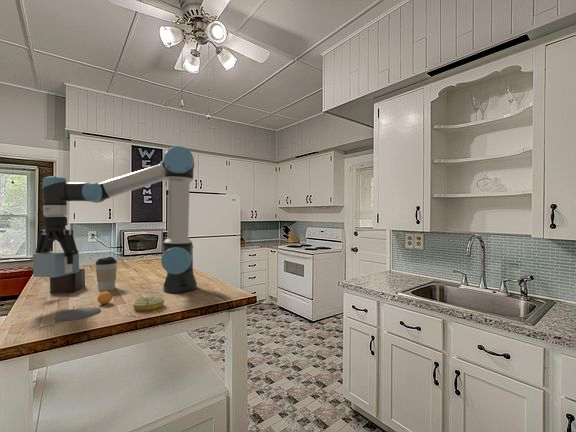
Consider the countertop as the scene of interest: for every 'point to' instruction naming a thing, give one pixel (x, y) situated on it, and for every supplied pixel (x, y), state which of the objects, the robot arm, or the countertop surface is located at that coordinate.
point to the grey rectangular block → (52, 264)
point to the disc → (77, 313)
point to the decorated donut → (148, 304)
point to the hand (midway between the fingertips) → (57, 272)
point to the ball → (104, 297)
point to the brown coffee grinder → (68, 282)
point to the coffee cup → (106, 273)
